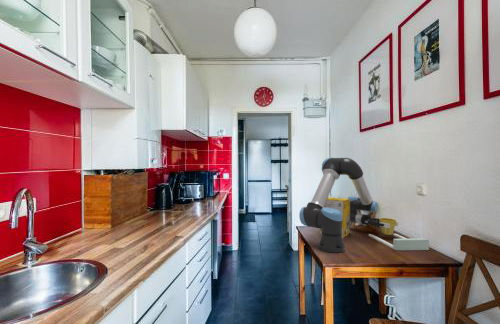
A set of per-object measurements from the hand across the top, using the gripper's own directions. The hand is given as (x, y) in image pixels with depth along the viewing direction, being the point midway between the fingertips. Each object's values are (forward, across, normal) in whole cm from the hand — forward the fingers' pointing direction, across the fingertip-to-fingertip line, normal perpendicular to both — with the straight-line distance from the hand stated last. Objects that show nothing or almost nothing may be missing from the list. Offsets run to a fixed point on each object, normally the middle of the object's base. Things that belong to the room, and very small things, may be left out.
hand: (393, 225), depth 179 cm
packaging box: (-30, +22, -10) cm, 39 cm away
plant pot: (-4, 0, -7) cm, 8 cm away
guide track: (+4, +4, -10) cm, 11 cm away
